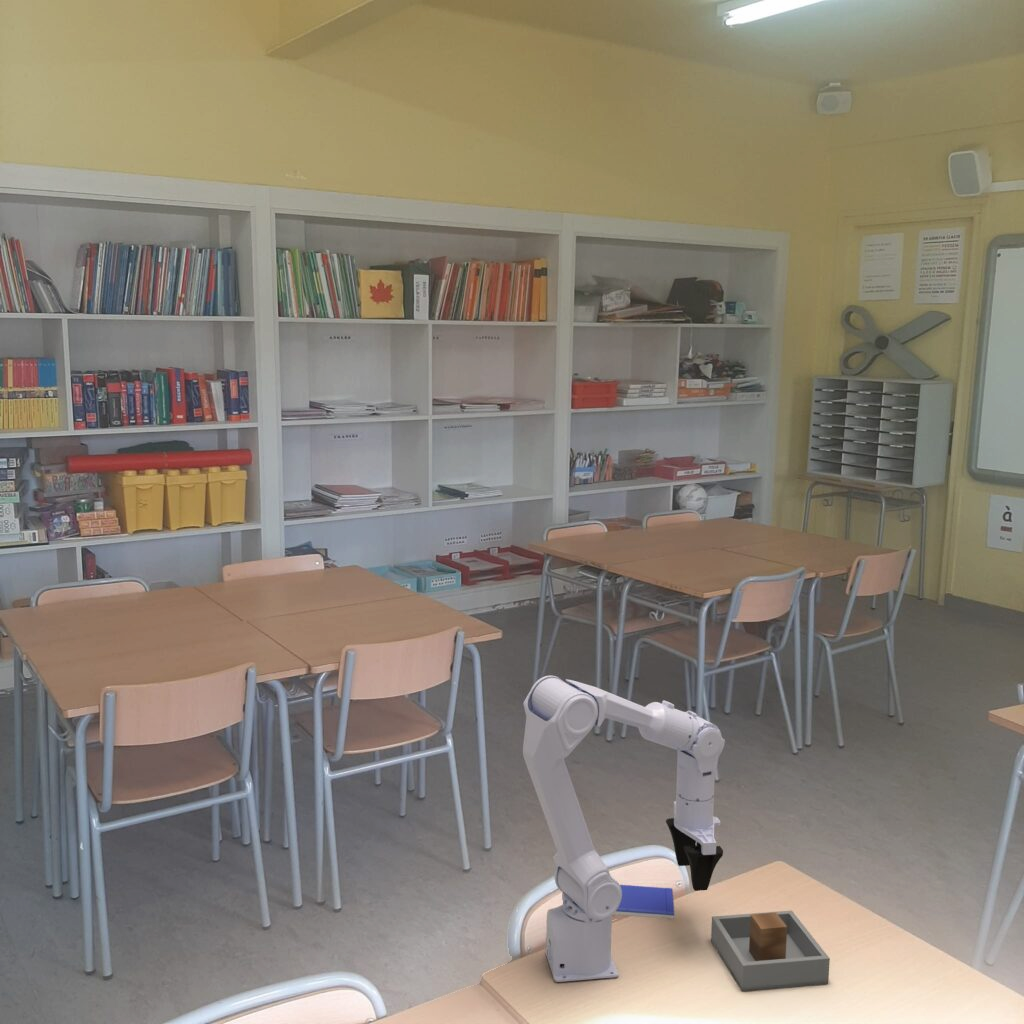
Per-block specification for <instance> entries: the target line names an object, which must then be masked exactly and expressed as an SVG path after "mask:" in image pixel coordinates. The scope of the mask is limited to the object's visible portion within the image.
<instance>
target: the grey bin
mask: <svg viewBox="0 0 1024 1024" xmlns="http://www.w3.org/2000/svg"><path fill="white" fill-rule="evenodd" d="M775 912H776V913H777V914H778V916H779V917H780V918H781V920H782V921H783V922H784V923H785V925H786V926H787V940H786V959H776V960H764V961H755V960H754V958H753V957H752V955H751V954H750V952H749V942H750V919H751V914H763V913H775ZM710 941H711V943H712V945H713V947H714V948H715V950H716V952H717V953H718V955H719V957H720V959H721V960H722V961H723V963H724V964H725V966H726V967H727V969H728V971H729V973H730V975H731V976H732V978H733V980H734V981H735V983H736V984H737V986H738V987H739V989H740V990H741V992H745V993H746V992H755V991H765V990H776V989H790V988H798V987H801V988H802V987H811V986H820V985H821V986H822V985H823V986H824V985H829V980H830V979H829V977H830V962H831V961H830V960H831V959H830V957H829V955H828V954H827V953H826V952H825V951H824V949H823V948H822V946H821V945H820V944H819V943H818V942H817V940H816V938H814V937H813V935H812V934H811V933H810V931H809V930H808V928H807V927H806V926H805V925H804V924H803V922H802V921H801V920H800V919H799V917H798V916H797V915H796V913H795V912H794V911H793V910H781V911H780V910H779V911H767V912H756V913H752V912H751V913H742V914H727V915H716V916H715V915H714V916H711V933H710Z"/></svg>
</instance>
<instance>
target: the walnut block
mask: <svg viewBox="0 0 1024 1024" xmlns="http://www.w3.org/2000/svg"><path fill="white" fill-rule="evenodd" d="M774 912H775V913H765V912H762V913H763V914H752V913H750V914H751V919H750V942H749V952H750V954H751V955H752V957H753V958H754V960H755V961H764V960H776V959H786V940H787V926H786V925H785V923H784V922H783V921H782V920H781V918H780V917H779V916H778V914H777V913H776V912H777V911H774Z"/></svg>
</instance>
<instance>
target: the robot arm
mask: <svg viewBox="0 0 1024 1024" xmlns="http://www.w3.org/2000/svg"><path fill="white" fill-rule="evenodd" d="M565 681H566V682H565ZM565 681H564V680H562V679H561V678H560V677H559V676H555V675H545V676H543V677H541V678H538V679H537V681H535V683H534V684H533V685H532V686H531V688H530V690H529V692H528V694H527V695H526V698H525V699H524V700H523V702H522V703H523V708H524V713H525V717H526V719H525V727H524V736H523V744H522V745H523V746H522V756H523V759H524V763H525V764H526V768H527V771H528V774H529V776H530V779H531V781H532V785H533V787H534V790H535V793H536V796H537V799H538V800H539V801H538V802H539V804H540V807H541V809H542V813H543V815H544V818H545V821H546V823H547V824H546V825H547V826H548V830H549V832H550V835H551V838H552V841H553V844H554V846H555V848H556V851H557V852H556V853H555V855H553V861H554V866H555V872H554V883H555V885H556V887H557V889H559V890H560V891H561V893H562V894H561V900H562V904H561V905H559V906H557V907H553V908H549V909H547V912H546V913H547V914H546V935H545V936H546V942H545V943H546V945H545V946H546V949H545V955H546V959H547V962H548V965H549V967H550V971H551V974H552V976H553V981H554V982H557V983H564V982H572V981H573V982H575V981H585V980H586V981H587V980H588V981H589V980H595V979H597V980H598V979H608V978H609V979H611V978H617V977H619V971H618V968H617V966H616V964H615V962H614V960H613V957H612V919H613V918H612V917H614V915H615V914H614V913H615V911H616V910H617V909H618V907H619V905H620V903H621V899H622V889H621V886H620V885H621V884H620V883H619V882H618V881H617V880H616V879H615V878H614V877H612V875H611V873H610V870H609V868H608V866H607V865H606V863H605V862H604V861H603V859H602V858H601V856H600V855H599V854H598V852H597V851H596V849H595V846H594V843H593V840H592V837H591V835H590V831H589V827H588V825H587V823H586V820H585V817H584V813H583V811H582V808H581V805H580V803H579V802H580V801H579V799H578V796H577V794H576V791H575V788H574V784H573V781H572V778H571V776H570V772H569V770H568V766H567V765H566V761H565V758H567V757H568V756H569V755H570V754H571V753H572V752H573V751H574V750H575V748H576V747H577V746H578V745H579V744H580V743H581V742H582V741H583V739H584V738H585V737H587V736H588V734H589V733H590V731H592V729H593V728H594V726H595V727H597V728H599V727H601V726H602V724H603V722H604V721H605V719H608V720H611V721H615V722H618V723H621V724H625V725H627V726H631V727H635V728H638V732H639V733H640V736H641V737H642V738H643V739H644V740H646V741H649V742H652V743H655V744H657V745H661V746H664V747H667V748H671V749H673V750H676V751H677V757H676V758H677V761H676V763H677V764H676V786H675V787H676V791H675V794H676V795H675V801H673V811H672V812H673V814H674V815H673V817H671V818H667V819H666V820H665V823H666V825H667V827H668V830H669V832H670V835H671V840H672V843H673V847H674V848H673V849H674V852H675V858H676V859H675V860H676V863H677V865H678V867H685V866H689V870H690V877H691V878H690V880H691V886H692V889H693V890H694V891H696V892H697V891H707V890H708V888H709V886H710V882H711V880H712V877H713V873H714V870H715V867H716V866H717V864H718V862H720V860H721V859H722V857H723V855H724V850H723V848H722V847H721V846H720V845H717V841H716V839H715V827H720V826H721V820H720V819H719V818H718V816H714V809H715V808H714V804H715V801H714V800H715V783H716V782H715V779H716V776H715V775H716V769H717V767H718V764H719V763H718V761H719V757H720V755H721V754H722V753H723V752H722V751H723V749H724V748H725V747H724V746H725V744H726V739H724V738H723V737H722V732H721V730H720V729H719V727H718V725H716V724H714V723H712V722H710V721H708V720H706V719H705V718H702V717H701V716H699V715H698V714H697V713H696V712H695V711H692V710H687V711H682V710H679V709H677V708H675V704H673V703H671V702H669V701H667V700H662V702H658V701H652V702H650V703H648V704H646V705H645V706H644V705H641V704H639V703H636V702H633V701H630V700H629V699H626V698H624V697H621V696H618V695H617V694H613V693H611V692H608V691H606V690H604V689H601V688H599V687H597V686H593V685H590V684H588V683H587V684H586V683H584V682H580V681H575V680H573V679H566V678H565Z"/></svg>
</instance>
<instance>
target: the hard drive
mask: <svg viewBox="0 0 1024 1024" xmlns="http://www.w3.org/2000/svg"><path fill="white" fill-rule="evenodd" d="M619 885H620V886H621V889H622V899H621V903H620V905H619V907H618V909H617V910H616V911H615V913H614V914H613V915H618V916H630V917H631V916H632V917H647V918H648V917H649V918H659V919H675V906H674V894H673V893H674V891H673V888H672V887H657V886H643V885H632V884H629V885H628V884H619Z"/></svg>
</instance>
